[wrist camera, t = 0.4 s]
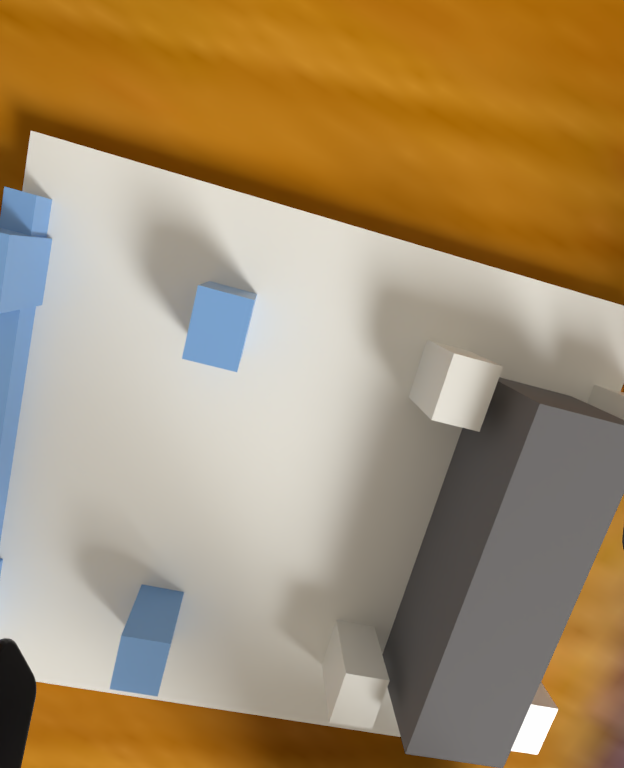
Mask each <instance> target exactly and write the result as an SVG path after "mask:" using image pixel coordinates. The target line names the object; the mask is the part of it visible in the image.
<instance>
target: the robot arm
mask: <svg viewBox="0 0 624 768" xmlns="http://www.w3.org/2000/svg"><path fill="white" fill-rule="evenodd" d="M622 542H623V549H624V529H623V540H622ZM35 697H36V681H35V677H34V674H33V673H32V671H31V669H30V667H29V665H28V664H27V662H26V660H25V658H24V656H23V655H22V653H21V651H20V649H19V647H18V646H17V644H16V643H15V641H13V640H12V639H10V638H3V639H0V768H21V764H22V759H23V755H24V750H25V745H26V740H27V736H28V731H29V726H30V721H31V716H32V712H33V707H34V702H35Z"/></svg>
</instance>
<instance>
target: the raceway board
mask: <svg viewBox="0 0 624 768" xmlns="http://www.w3.org/2000/svg"><path fill="white" fill-rule="evenodd" d="M499 377H501V378H504V379H508V380H512V381H516V382H520V383H523V384H527V385H531V386H535V387H539V388H542V389H546V390H550V391H554V392H558V393H561V394H565V395H569V396H572V397H574V398H576V399H579V400H581V401H583V402H585V403H587V404H590V405H592V406H594V407H596V408H598V409H601V410H603V411H605V412H607V413H609V414H612V415H614V416H616V417H618V418H620V419H623V420H624V392H620V391H621V389H622V386H623V384H624V306H623V305H620V304H616V303H613V302H610V301H606V300H603V299H600V298H596V297H593V296H589V295H586V294H583V293H579V292H576V291H572V290H569V289H566V288H562V287H559V286H556V285H552V284H549V283H545V282H542V281H539V280H535V279H532V278H528V277H525V276H522V275H518V274H515V273H512V272H508V271H505V270H501V269H498V268H495V267H491V266H488V265H484V264H481V263H478V262H474V261H471V260H468V259H464V258H461V257H457V256H454V255H451V254H447V253H444V252H440V251H437V250H434V249H430V248H427V247H424V246H420V245H417V244H413V243H410V242H407V241H403V240H400V239H396V238H393V237H390V236H386V235H383V234H380V233H376V232H373V231H369V230H366V229H363V228H359V227H356V226H353V225H349V224H346V223H342V222H339V221H336V220H332V219H329V218H325V217H322V216H319V215H315V214H312V213H309V212H305V211H302V210H298V209H295V208H292V207H288V206H285V205H281V204H278V203H275V202H271V201H268V200H265V199H261V198H258V197H254V196H251V195H248V194H244V193H241V192H237V191H234V190H231V189H227V188H224V187H221V186H217V185H214V184H210V183H207V182H204V181H200V180H197V179H193V178H190V177H187V176H183V175H180V174H177V173H173V172H170V171H166V170H163V169H160V168H156V167H153V166H150V165H146V164H143V163H139V162H136V161H133V160H129V159H126V158H122V157H119V156H116V155H112V154H109V153H106V152H102V151H99V150H95V149H92V148H89V147H85V146H82V145H78V144H75V143H72V142H68V141H65V140H62V139H58V138H55V137H51V136H48V135H45V134H41V133H38V132H34V131H31V132H30V139H29V146H28V153H27V161H26V168H25V175H24V182H23V189H22V191H19V190H16V189H12V188H8V187H5V186H4V193H3V200H2V208H1V216H0V639H3V638H10V639H12V640H13V641H15V643H16V644H17V646H18V647H19V649H20V651H21V653H22V655H23V656H24V658H25V660H26V662H27V664H28V665H29V667H30V669H31V671H32V673H33V674H34V677H35V681H36V682H43V683H49V684H56V685H62V686H69V687H76V688H82V689H89V690H95V691H102V692H108V693H115V694H121V695H128V696H135V697H141V698H148V699H154V700H161V701H167V702H174V703H181V704H187V705H194V706H200V707H207V708H213V709H220V710H226V711H233V712H240V713H246V714H253V715H259V716H266V717H272V718H279V719H286V720H292V721H299V722H305V723H312V724H318V725H325V726H331V727H338V728H345V729H351V730H358V731H364V732H371V733H377V734H384V735H391V736H397V737H401V736H400V732H399V728H398V725H397V721H396V717H395V714H394V710H393V706H392V702H391V699H390V695H389V691H388V688H387V686H388V684H389V681H390V680H389V677H388V673H387V670H386V666H385V663H384V659H383V655H382V654H383V652H384V649H385V646H386V643H387V640H388V637H389V635H390V632H391V629H392V626H393V623H394V620H395V618H396V615H397V612H398V609H399V606H400V603H401V601H402V598H403V595H404V592H405V589H406V586H407V584H408V581H409V578H410V575H411V572H412V569H413V567H414V564H415V561H416V558H417V555H418V552H419V550H420V547H421V544H422V541H423V538H424V535H425V533H426V530H427V527H428V524H429V521H430V518H431V516H432V513H433V510H434V507H435V504H436V501H437V499H438V496H439V493H440V490H441V487H442V484H443V482H444V479H445V476H446V473H447V470H448V468H449V465H450V462H451V459H452V456H453V453H454V451H455V448H456V445H457V442H458V439H459V436H460V434H461V431H462V428H466V429H470V430H474V431H478V432H480V429H481V426H482V424H483V421H484V418H485V415H486V413H487V410H488V407H489V404H490V402H491V399H492V396H493V393H494V390H495V388H496V385H497V382H498V379H499ZM557 711H558V708H557V706H556V705H555V703H554V701H553V700H552V698H551V697H550V695H549V694H548V692H547V691H546V689H545V687H544V686H543V684H542V683H540V685H539V687H538V690H537V692H536V694H535V697H534V699H533V701H532V703H531V706H530V708H529V710H528V712H527V715H526V717H525V719H524V722H523V724H522V726H521V728H520V731H519V733H518V735H517V737H516V740H515V742H514V744H513V747H512V749H511V751H516V752H523V753H529V754H536V755H538V753H539V750H540V748H541V746H542V744H543V742H544V739H545V737H546V735H547V733H548V731H549V728H550V726H551V724H552V722H553V720H554V717H555V715H556V713H557Z"/></svg>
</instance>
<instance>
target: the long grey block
mask: <svg viewBox="0 0 624 768" xmlns="http://www.w3.org/2000/svg"><path fill="white" fill-rule="evenodd" d="M623 494H624V420H623V419H620V418H618V417H616V416H614V415H612V414H609V413H607V412H605V411H603V410H601V409H598V408H596V407H594V406H592V405H590V404H587V403H585V402H583V401H581V400H579V399H576V398H574V397H572V396H569V395H565V394H561V393H558V392H554V391H550V390H546V389H542V388H539V387H535V386H531V385H527V384H523V383H520V382H516V381H512V380H508V379H504V378H501V377H499V379H498V382H497V385H496V388H495V390H494V393H493V396H492V399H491V402H490V404H489V407H488V410H487V413H486V415H485V418H484V421H483V424H482V426H481V429H480V432H478V431H474V430H470V429H466V428H462V431H461V434H460V436H459V439H458V442H457V445H456V448H455V451H454V453H453V456H452V459H451V462H450V465H449V468H448V470H447V473H446V476H445V479H444V482H443V484H442V487H441V490H440V493H439V496H438V499H437V501H436V504H435V507H434V510H433V513H432V516H431V518H430V521H429V524H428V527H427V530H426V533H425V535H424V538H423V541H422V544H421V547H420V550H419V552H418V555H417V558H416V561H415V564H414V567H413V569H412V572H411V575H410V578H409V581H408V584H407V586H406V589H405V592H404V595H403V598H402V601H401V603H400V606H399V609H398V612H397V615H396V618H395V620H394V623H393V626H392V629H391V632H390V635H389V637H388V640H387V643H386V646H385V649H384V652H383V654H382V655H383V659H384V663H385V666H386V670H387V673H388V677H389V680H390V681H389V684H388V686H387V688H388V691H389V695H390V699H391V702H392V706H393V710H394V714H395V717H396V721H397V725H398V728H399V732H400V736H401V739H402V743H403V747H404V750H405V754H410V755H417V756H424V757H430V758H437V759H444V760H451V761H457V762H464V763H471V764H478V765H485V766H491V767H498V768H503V767H504V765H505V763H506V760H507V758H508V756H509V753H510V751H511V749H512V747H513V744H514V742H515V740H516V737H517V735H518V733H519V731H520V728H521V726H522V724H523V722H524V719H525V717H526V715H527V712H528V710H529V708H530V706H531V703H532V701H533V699H534V697H535V694H536V692H537V690H538V687H539V685H540V683H541V681H542V678H543V676H544V674H545V671H546V669H547V667H548V665H549V662H550V660H551V658H552V656H553V653H554V651H555V649H556V646H557V644H558V642H559V640H560V637H561V635H562V633H563V631H564V628H565V626H566V624H567V621H568V619H569V617H570V615H571V612H572V610H573V608H574V605H575V603H576V601H577V599H578V596H579V594H580V592H581V590H582V587H583V585H584V583H585V580H586V578H587V576H588V574H589V571H590V569H591V567H592V564H593V562H594V560H595V558H596V555H597V553H598V551H599V549H600V546H601V544H602V542H603V539H604V537H605V535H606V533H607V530H608V528H609V526H610V524H611V521H612V519H613V517H614V514H615V512H616V510H617V508H618V505H619V503H620V501H621V498H622V496H623Z"/></svg>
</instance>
